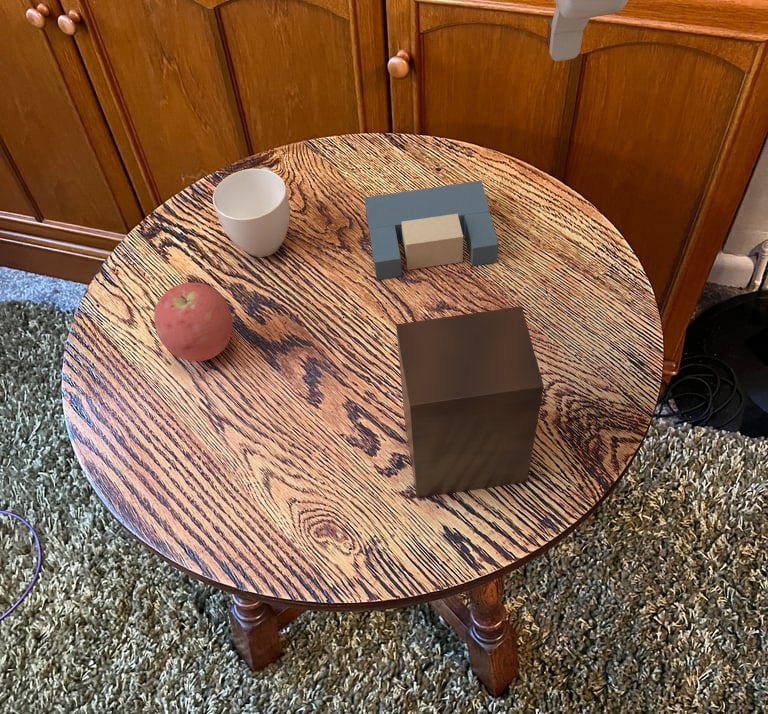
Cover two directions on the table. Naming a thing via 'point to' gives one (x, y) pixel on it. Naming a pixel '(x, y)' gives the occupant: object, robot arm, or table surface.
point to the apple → (193, 321)
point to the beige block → (432, 241)
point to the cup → (253, 210)
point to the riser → (469, 400)
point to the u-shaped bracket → (425, 204)
